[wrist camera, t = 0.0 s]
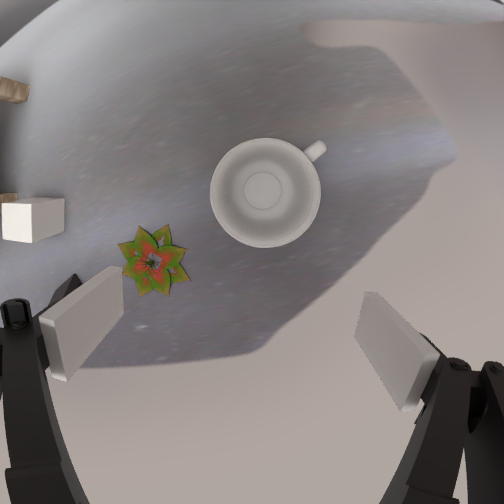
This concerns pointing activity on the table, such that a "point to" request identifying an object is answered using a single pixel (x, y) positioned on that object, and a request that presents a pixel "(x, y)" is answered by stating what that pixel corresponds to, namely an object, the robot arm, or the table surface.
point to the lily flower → (139, 268)
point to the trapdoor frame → (16, 94)
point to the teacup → (266, 191)
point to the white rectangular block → (32, 219)
